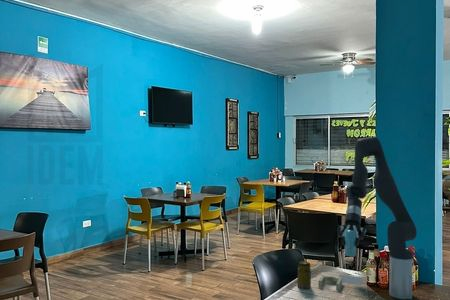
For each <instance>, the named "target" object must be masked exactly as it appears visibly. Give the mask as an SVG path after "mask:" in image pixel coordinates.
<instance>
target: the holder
mask: <svg viewBox="0 0 450 300" xmlns="http://www.w3.org/2000/svg"><path fill="white" fill-rule="evenodd" d="M343 286H344V283H343V282H342V278H340V277H339V276H331V275H324V274H322V275H321V277H320V278H319V280H318V286H317V288H319V289H324V290H331V291H335V292H336V291H337V292H341V290H342V287H343Z"/></svg>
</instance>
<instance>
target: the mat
mask: <svg viewBox="0 0 450 300" xmlns="http://www.w3.org/2000/svg"><path fill="white" fill-rule="evenodd" d="M338 277H340V278H342V283H343V284H344V283H346V284H353V285H358V286H359V285H360V286H361V284H362V282H363V280H364V279H363V278H364V277H362V276H361V277H360V276H354V275H347V274H339V276H338Z"/></svg>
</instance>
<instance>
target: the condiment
mask: <svg viewBox="0 0 450 300" xmlns="http://www.w3.org/2000/svg"><path fill="white" fill-rule="evenodd" d="M311 276H312V269H311V263H310V262H309V261H305V260H304V261H302V260H301V261H299V262H298V267H297V287H298V289H300V290H310V289H311V288H312V283H311V282H312V281H311V280H312V277H311Z"/></svg>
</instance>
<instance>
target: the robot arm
mask: <svg viewBox="0 0 450 300" xmlns="http://www.w3.org/2000/svg"><path fill="white" fill-rule="evenodd" d="M385 155H386V154H385V152H384V148H383V146H382V143H381V141H380V139H379V138H378V137H377V136H369V137H363V138H359V139H358V140H357V139H356V142H355V146H354V170H353V173H352V174H353V175H352V179H351V183H349V184H347V186H346V193H345V194H346V196H347V206H346V207H347V208H346V212H345V218H344V219H345V220H344V224H343V225H340V224H337V230H338V236H339V237H338V238H341V241H340V242H341V244H342V246H345V230H355V231H356V240H355V247H356V248H357V247H358V246H359V244H360V241H361V240H362V241H363V240H364V238H365V236H366V232H367V227H361V220H362V207H363V202H362V200H363V199H365V198H366V197H367V194H368V189H367V179H368V175H369V170H368V168H367V166H366V164H365V163H364V158H367V157H372V156H373V157H374V160H375V163H376V164H375V165H376V167H375V172H374V176H373V179H372V180H373V181H372V184H373V186H374V189H375V192H376V194H377V196H378V198H379V199H380V200H381V201H382V203H383V204H384V205H385V206H386V207H387V208H388V209H389V210H390V212H391V213H392V214H393V216H394V218H395V221H392V222H390V223H389V224H388V226H387V232H386V234H387V249H388V252H389V287H388V289H389V290H388V293H389V296H390V297H393V298H395V299H400V300H412V299H413V251H412V250H410V249H407V245H406V244H407V242H409V241H413V240H415V239H416V237H417V234H418V232H417V227H416V224H415V223H414V221H413V219H412V217H411V215H410V213H409V211H408V210H407V207H406V205H405V202H404V200H403V198H402V196H401V194H400V191H399V187H398V186H397V183H396V181H395V179H394V176H393V175H392V174H393V173H392V172H391V169H390V167H389V164H388V162H387V159H386V156H385ZM342 230H344V231H343V233H342ZM360 231H361V234H360V235H359V232H360Z"/></svg>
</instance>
